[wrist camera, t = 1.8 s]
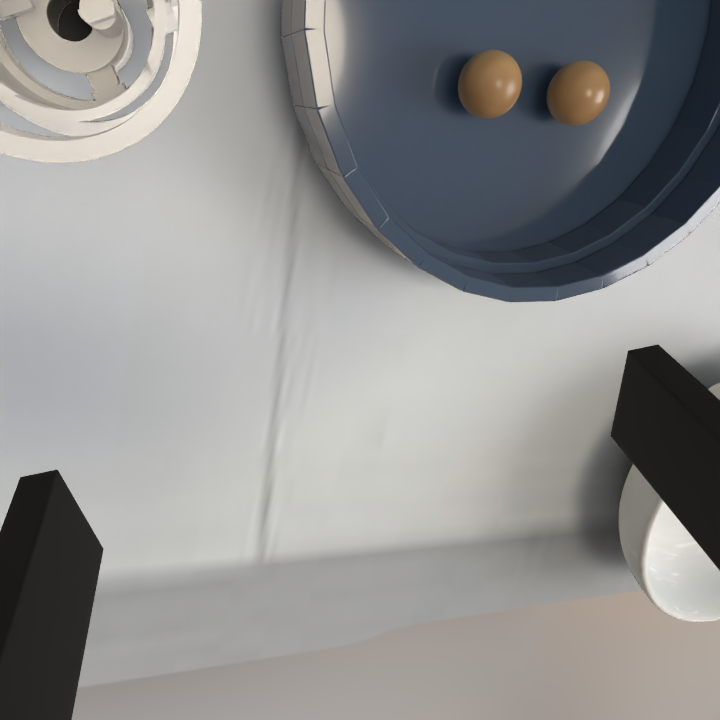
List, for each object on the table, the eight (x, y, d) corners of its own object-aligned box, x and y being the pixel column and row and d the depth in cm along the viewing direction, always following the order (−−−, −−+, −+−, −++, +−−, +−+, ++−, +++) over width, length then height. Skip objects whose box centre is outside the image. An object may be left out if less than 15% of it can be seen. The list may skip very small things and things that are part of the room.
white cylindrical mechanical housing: (133, -94, 23) (98, -316, 10) (209, 93, 27) (256, 104, 14) (-44, -36, 22) (-326, -198, 9) (58, 149, 26) (-45, 217, 13)
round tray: (286, -396, 21) (322, -536, 16) (792, -227, 28) (919, -289, 24) (274, 273, 31) (294, 308, 26) (650, 270, 38) (720, 297, 33)
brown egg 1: (451, 48, 28) (481, 44, 26) (506, 54, 29) (540, 51, 27) (443, 114, 30) (470, 118, 27) (496, 119, 30) (527, 122, 28)
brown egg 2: (541, 58, 30) (577, 56, 27) (590, 64, 31) (630, 62, 28) (529, 121, 31) (563, 125, 28) (577, 125, 32) (614, 129, 29)
